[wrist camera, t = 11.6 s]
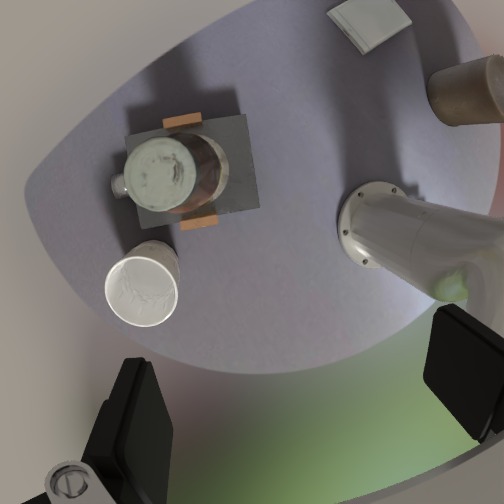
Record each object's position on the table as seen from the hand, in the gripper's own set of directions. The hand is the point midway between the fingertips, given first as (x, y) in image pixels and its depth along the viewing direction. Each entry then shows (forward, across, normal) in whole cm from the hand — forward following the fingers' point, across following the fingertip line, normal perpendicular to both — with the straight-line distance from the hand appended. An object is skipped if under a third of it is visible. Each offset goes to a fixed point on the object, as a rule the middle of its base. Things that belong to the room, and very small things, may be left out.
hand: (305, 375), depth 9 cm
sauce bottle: (+29, +5, -6) cm, 30 cm away
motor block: (+33, +6, -6) cm, 34 cm away
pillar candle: (+34, -36, -16) cm, 52 cm away
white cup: (+33, +12, +5) cm, 35 cm away
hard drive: (+34, -23, -28) cm, 50 cm away
